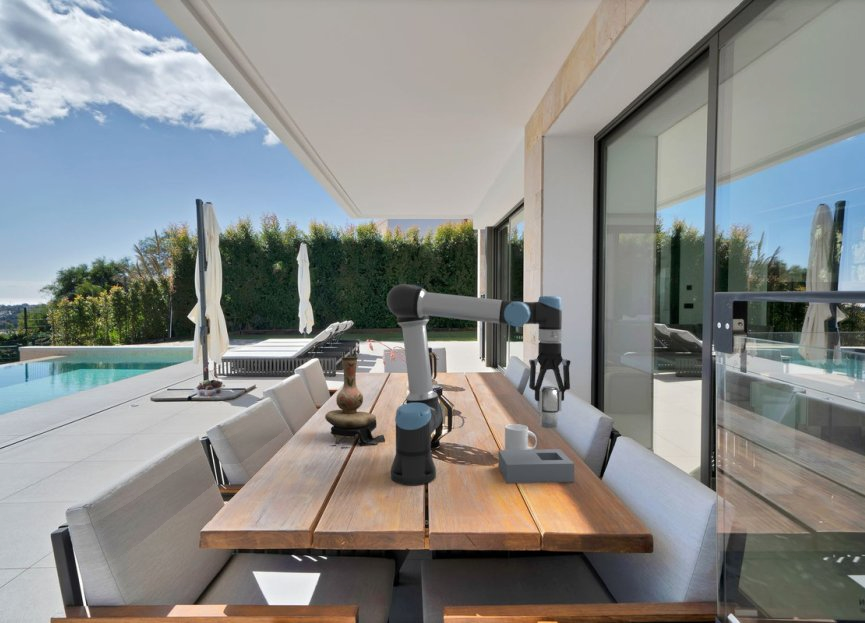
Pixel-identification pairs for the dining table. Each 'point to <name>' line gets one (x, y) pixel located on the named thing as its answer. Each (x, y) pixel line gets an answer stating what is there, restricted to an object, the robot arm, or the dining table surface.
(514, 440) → the mug
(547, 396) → the silver can
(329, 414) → the vase
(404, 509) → the dining table surface
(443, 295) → the robot arm
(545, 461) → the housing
